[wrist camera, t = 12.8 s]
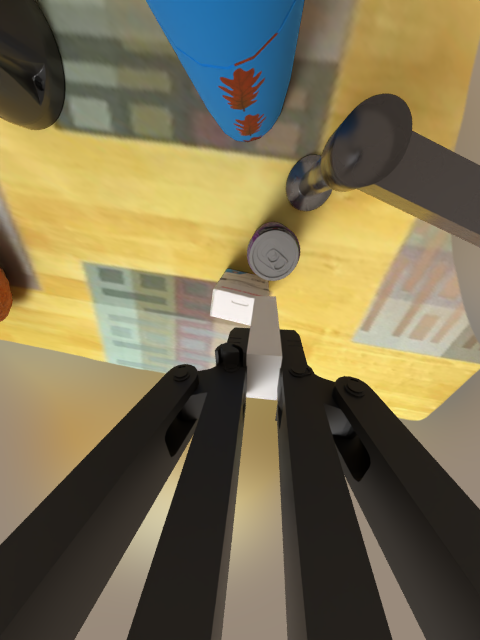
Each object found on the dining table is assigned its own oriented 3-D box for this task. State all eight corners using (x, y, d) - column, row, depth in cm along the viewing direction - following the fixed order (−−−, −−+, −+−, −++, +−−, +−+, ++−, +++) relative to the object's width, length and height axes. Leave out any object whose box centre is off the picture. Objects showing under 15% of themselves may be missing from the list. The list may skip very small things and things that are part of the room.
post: (284, 162, 29) (302, 112, 14) (334, 150, 28) (407, 83, 13) (286, 214, 32) (303, 216, 18) (331, 206, 31) (387, 201, 16)
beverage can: (299, 244, 34) (314, 259, 24) (268, 271, 37) (269, 294, 27) (274, 211, 32) (278, 211, 22) (243, 242, 35) (234, 255, 25)
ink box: (223, 290, 40) (208, 317, 30) (226, 267, 38) (212, 287, 27) (262, 299, 40) (261, 329, 30) (269, 277, 38) (270, 301, 27)
